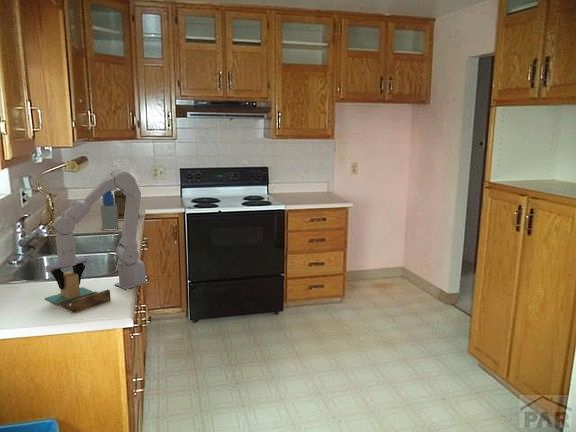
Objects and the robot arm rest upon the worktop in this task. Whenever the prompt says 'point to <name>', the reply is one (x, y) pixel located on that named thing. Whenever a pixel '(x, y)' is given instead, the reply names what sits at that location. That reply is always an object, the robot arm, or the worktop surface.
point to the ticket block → (70, 285)
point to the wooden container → (120, 203)
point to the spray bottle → (109, 212)
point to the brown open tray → (86, 301)
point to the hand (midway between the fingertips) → (69, 286)
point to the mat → (59, 298)
